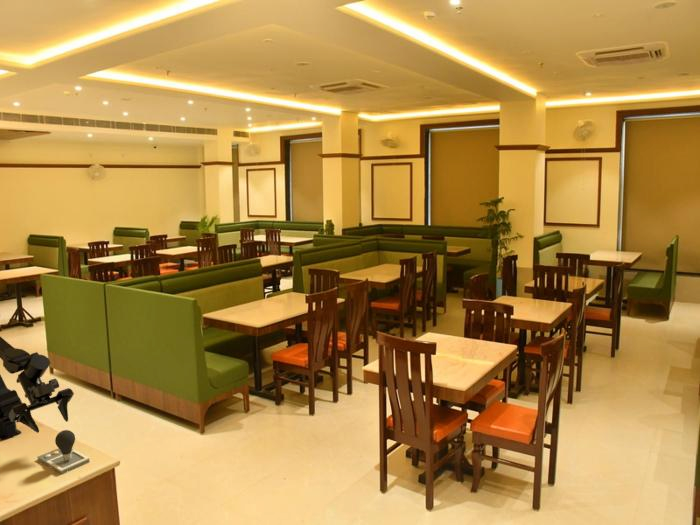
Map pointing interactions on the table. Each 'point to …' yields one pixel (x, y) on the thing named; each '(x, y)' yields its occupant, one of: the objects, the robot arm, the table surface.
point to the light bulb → (65, 443)
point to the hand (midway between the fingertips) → (53, 426)
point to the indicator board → (60, 465)
